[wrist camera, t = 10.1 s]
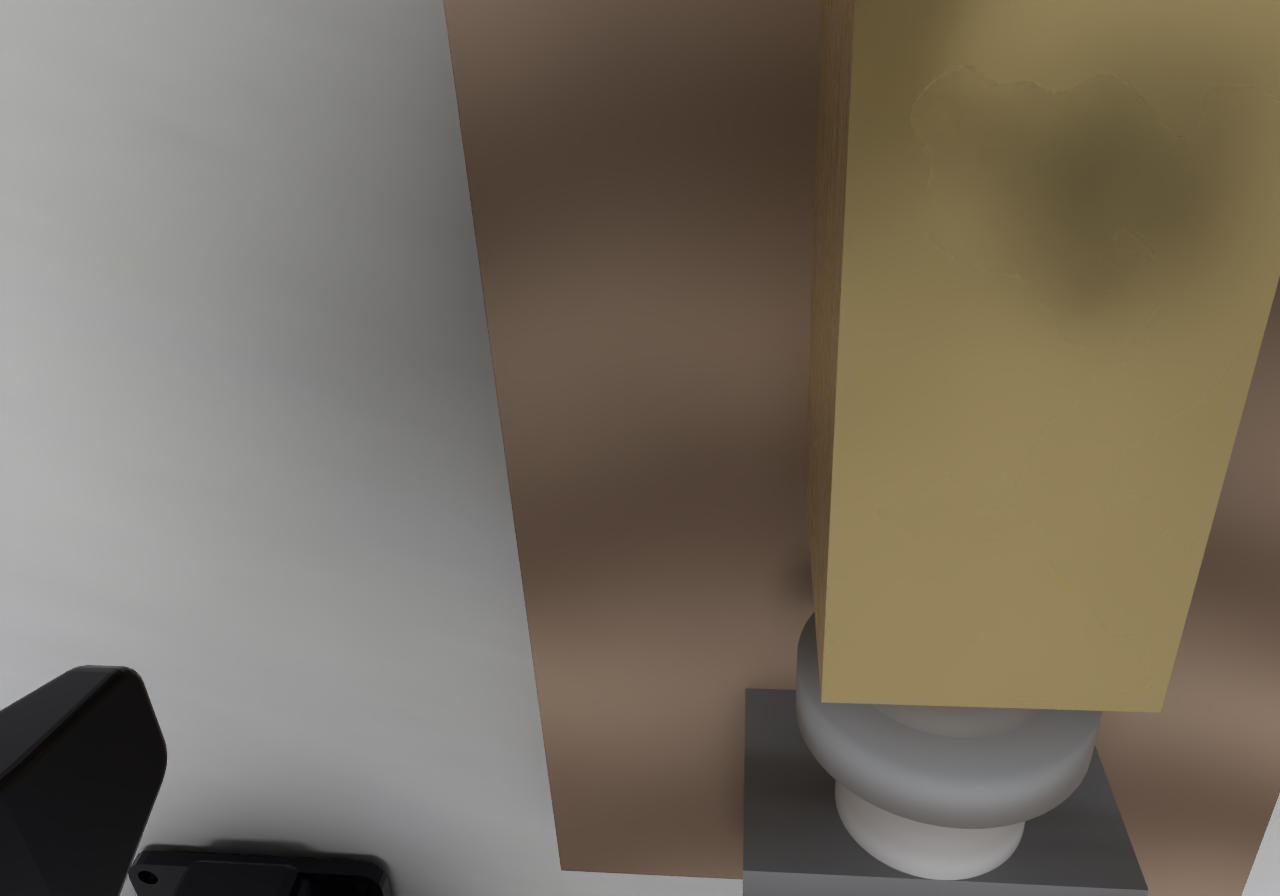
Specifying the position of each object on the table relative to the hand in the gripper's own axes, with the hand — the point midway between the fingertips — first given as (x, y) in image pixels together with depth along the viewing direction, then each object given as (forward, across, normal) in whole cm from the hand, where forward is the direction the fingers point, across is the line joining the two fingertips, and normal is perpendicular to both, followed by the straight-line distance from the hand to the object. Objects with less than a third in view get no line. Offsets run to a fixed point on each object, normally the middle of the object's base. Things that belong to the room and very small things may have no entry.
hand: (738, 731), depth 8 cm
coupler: (+9, -3, -1) cm, 10 cm away
